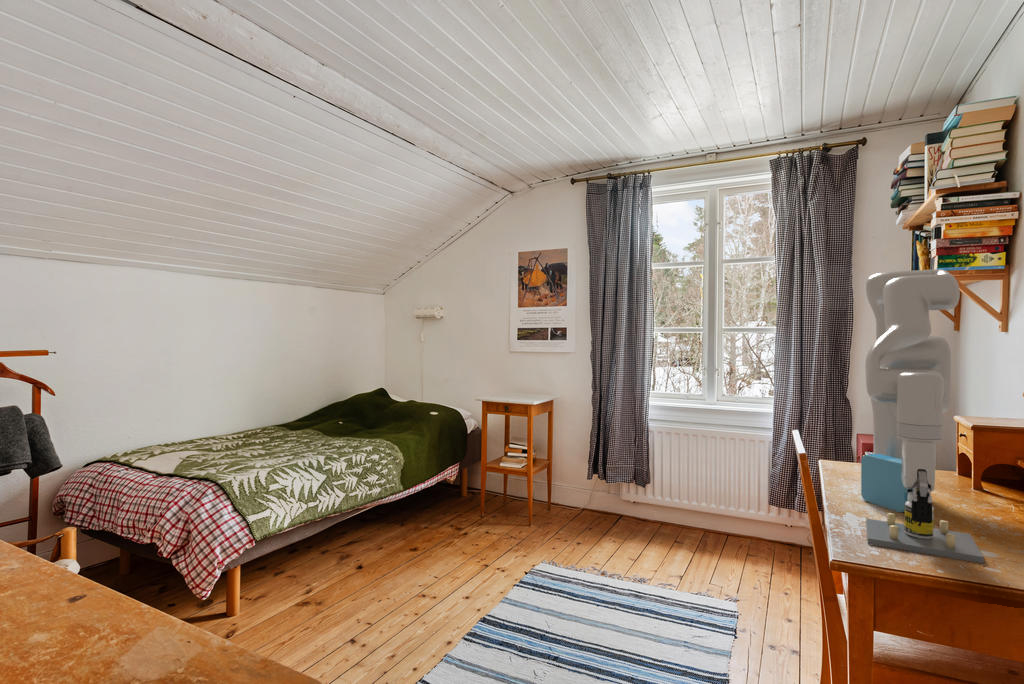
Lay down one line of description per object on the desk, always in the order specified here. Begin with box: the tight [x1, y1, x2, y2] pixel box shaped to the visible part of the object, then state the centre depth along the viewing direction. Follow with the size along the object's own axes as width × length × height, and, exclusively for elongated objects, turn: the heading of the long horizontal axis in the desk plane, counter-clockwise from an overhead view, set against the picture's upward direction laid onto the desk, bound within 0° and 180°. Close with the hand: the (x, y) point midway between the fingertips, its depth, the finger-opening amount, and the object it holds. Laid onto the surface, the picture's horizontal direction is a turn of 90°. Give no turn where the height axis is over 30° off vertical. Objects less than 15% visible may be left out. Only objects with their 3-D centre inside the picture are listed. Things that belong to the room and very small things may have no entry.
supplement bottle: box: [903, 492, 935, 539], centre depth 111 cm, size 5×5×8 cm
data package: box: [860, 453, 909, 513], centre depth 134 cm, size 12×4×12 cm, turn 13°
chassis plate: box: [865, 512, 985, 564], centre depth 111 cm, size 14×18×4 cm
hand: (919, 515), depth 111 cm, fingers open, 9 cm apart
